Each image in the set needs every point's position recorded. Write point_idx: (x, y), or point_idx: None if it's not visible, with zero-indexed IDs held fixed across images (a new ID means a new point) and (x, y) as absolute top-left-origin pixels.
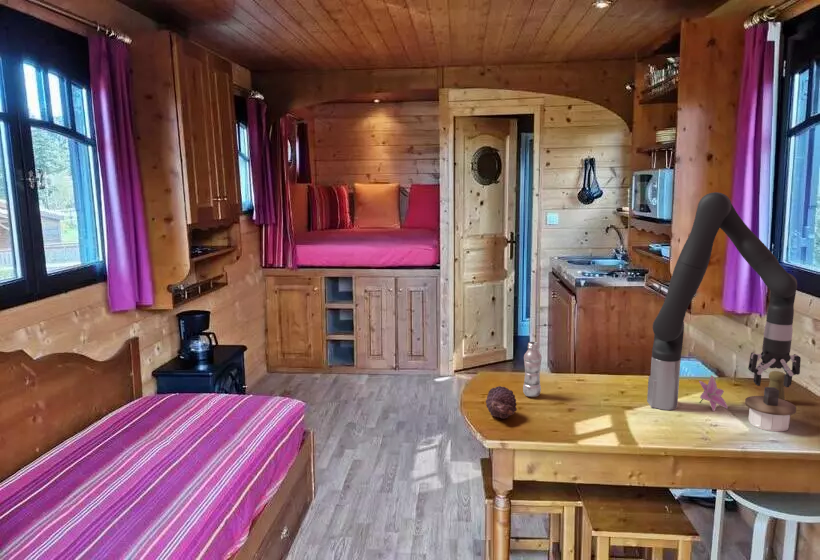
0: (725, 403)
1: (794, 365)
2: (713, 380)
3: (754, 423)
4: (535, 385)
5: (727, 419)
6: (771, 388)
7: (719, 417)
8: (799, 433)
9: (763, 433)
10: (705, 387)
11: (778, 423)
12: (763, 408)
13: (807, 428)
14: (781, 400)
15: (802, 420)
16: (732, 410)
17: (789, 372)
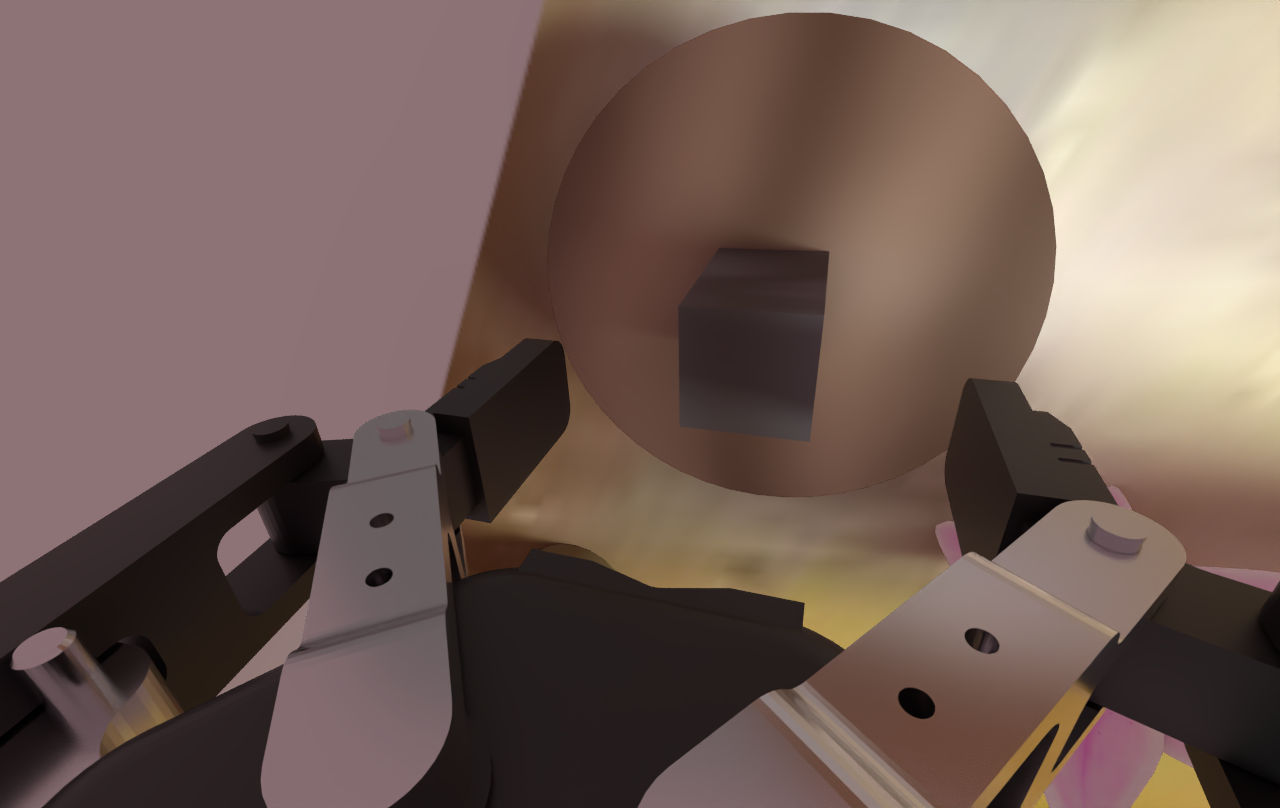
0: (954, 561)
1: (211, 586)
2: (1064, 788)
3: None
4: None
5: (1106, 328)
6: (743, 389)
7: (1157, 368)
8: (621, 73)
9: (956, 6)
10: None
11: None
12: (951, 128)
13: (530, 193)
14: (619, 389)
15: (518, 333)
16: (923, 493)
17: (402, 454)
